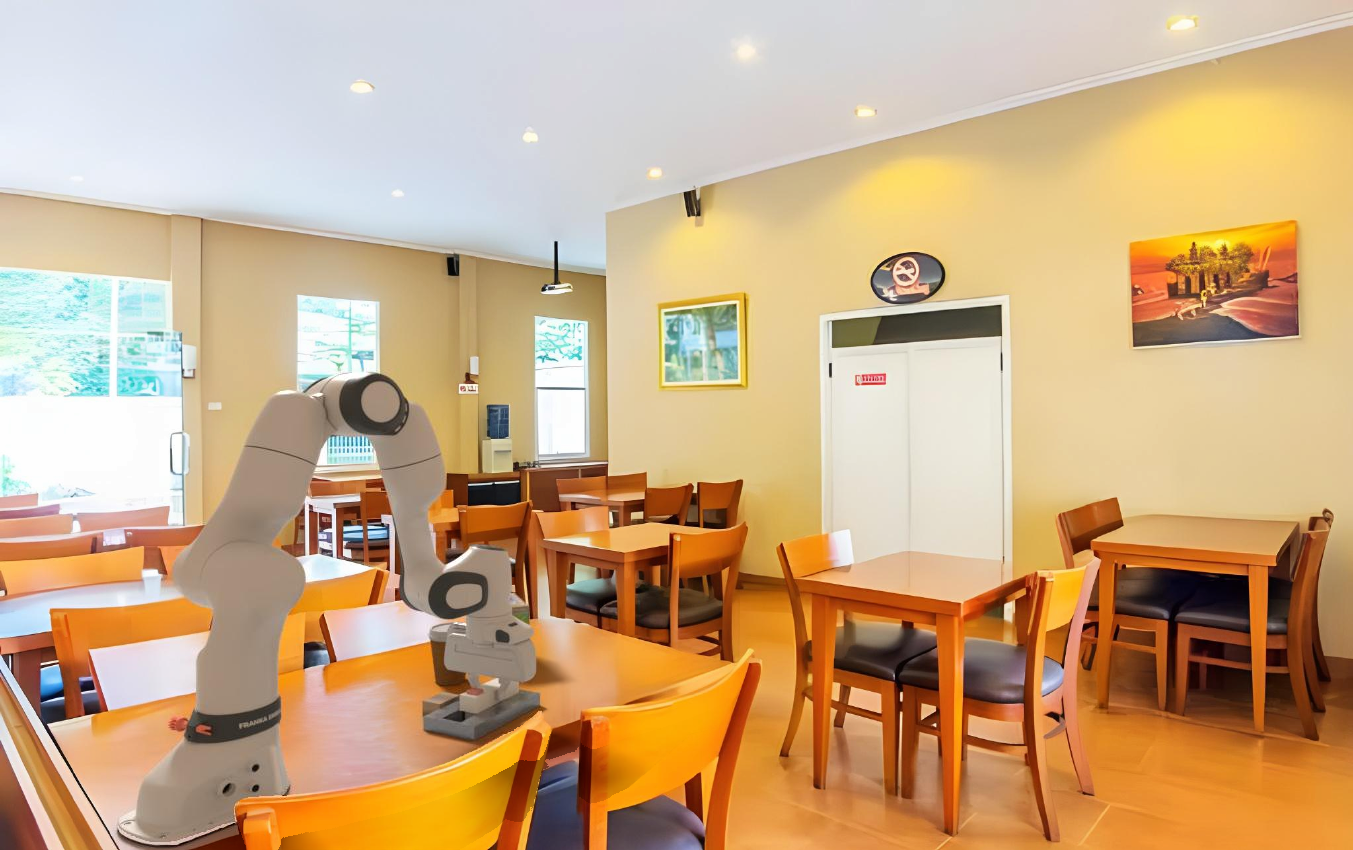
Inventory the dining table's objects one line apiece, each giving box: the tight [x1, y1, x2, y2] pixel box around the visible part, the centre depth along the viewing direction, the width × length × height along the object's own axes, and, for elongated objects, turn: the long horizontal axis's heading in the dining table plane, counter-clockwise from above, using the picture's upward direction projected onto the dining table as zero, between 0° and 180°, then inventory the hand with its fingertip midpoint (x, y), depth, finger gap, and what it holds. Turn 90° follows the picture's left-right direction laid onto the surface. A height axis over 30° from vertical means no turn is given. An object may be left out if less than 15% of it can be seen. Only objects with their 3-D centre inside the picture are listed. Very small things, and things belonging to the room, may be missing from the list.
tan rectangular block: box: [421, 691, 460, 717], centre depth 156 cm, size 6×4×3 cm
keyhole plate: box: [422, 688, 541, 742], centre depth 154 cm, size 20×12×2 cm, turn 154°
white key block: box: [459, 678, 520, 720], centre depth 156 cm, size 13×4×6 cm, turn 154°
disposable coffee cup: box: [427, 621, 467, 686], centre depth 176 cm, size 10×10×12 cm
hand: (489, 697), depth 155 cm, fingers closed on white key block, 4 cm apart
